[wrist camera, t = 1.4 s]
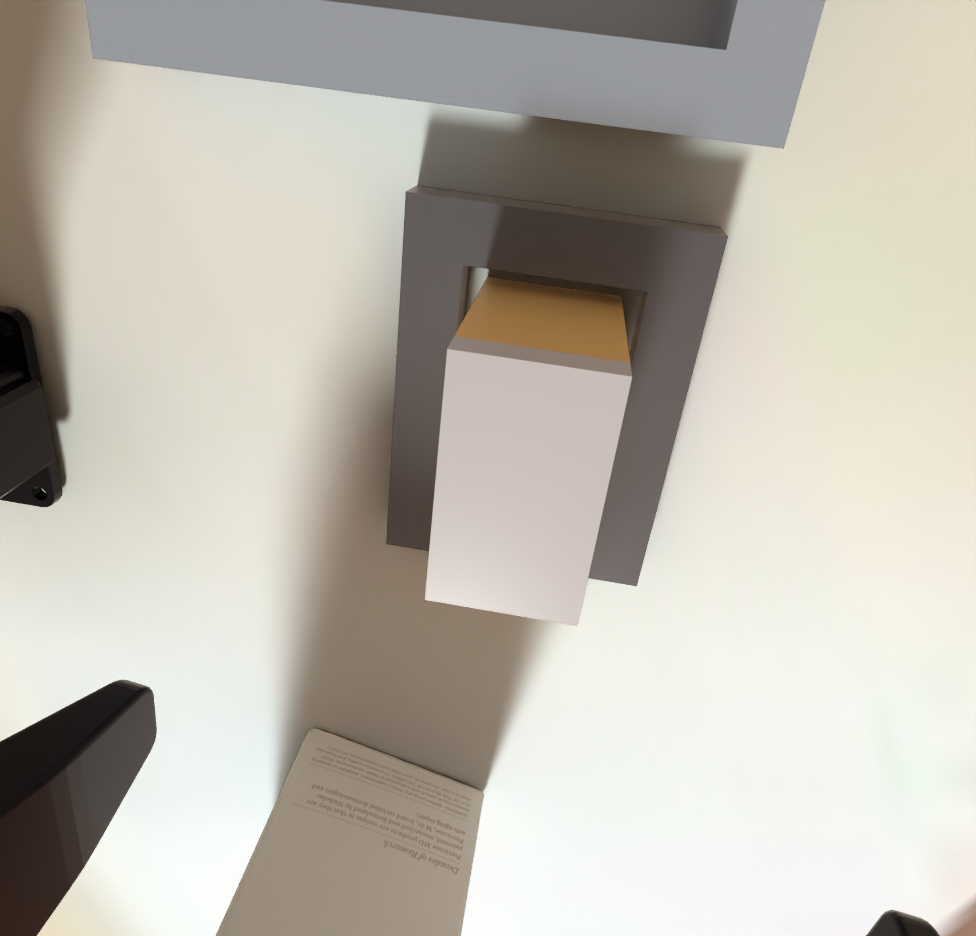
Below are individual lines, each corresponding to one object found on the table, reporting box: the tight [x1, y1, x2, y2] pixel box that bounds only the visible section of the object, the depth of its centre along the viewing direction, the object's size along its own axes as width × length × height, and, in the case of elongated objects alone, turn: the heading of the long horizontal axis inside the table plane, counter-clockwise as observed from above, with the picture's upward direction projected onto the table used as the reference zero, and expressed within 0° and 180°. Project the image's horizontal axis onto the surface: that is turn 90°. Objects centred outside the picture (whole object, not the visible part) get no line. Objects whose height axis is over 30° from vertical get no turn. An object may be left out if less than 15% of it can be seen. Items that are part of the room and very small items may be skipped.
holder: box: [386, 186, 728, 586], centre depth 20 cm, size 8×10×1 cm
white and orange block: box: [425, 277, 632, 626], centre depth 18 cm, size 4×6×6 cm, turn 175°
